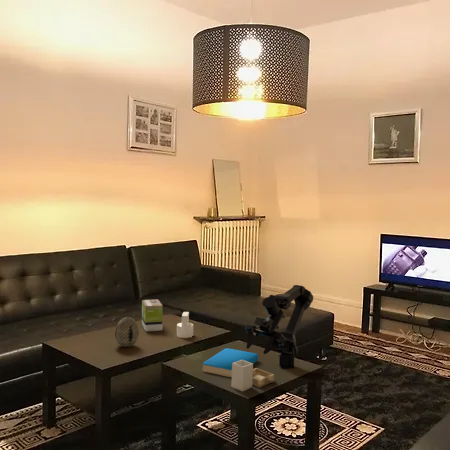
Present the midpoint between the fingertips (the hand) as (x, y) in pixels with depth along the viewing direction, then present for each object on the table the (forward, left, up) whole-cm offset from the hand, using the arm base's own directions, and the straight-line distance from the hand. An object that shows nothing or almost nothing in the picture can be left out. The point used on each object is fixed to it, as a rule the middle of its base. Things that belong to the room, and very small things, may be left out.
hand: (255, 350), depth 205 cm
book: (+8, -19, -14) cm, 25 cm away
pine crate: (-2, -1, -13) cm, 14 cm away
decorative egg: (+58, -45, -14) cm, 75 cm away
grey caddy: (+6, +5, -13) cm, 16 cm away
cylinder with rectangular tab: (+29, -65, -14) cm, 73 cm away
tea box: (+48, -80, -14) cm, 95 cm away
